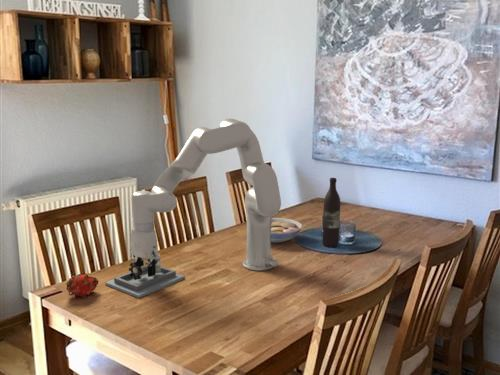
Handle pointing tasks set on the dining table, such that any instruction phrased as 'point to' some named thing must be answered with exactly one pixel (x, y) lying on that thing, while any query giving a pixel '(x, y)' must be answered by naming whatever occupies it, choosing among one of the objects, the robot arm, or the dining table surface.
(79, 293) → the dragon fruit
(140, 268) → the valve
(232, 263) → the dining table surface
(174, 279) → the rimmed tray
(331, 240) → the wine bottle
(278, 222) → the ramen bowl
